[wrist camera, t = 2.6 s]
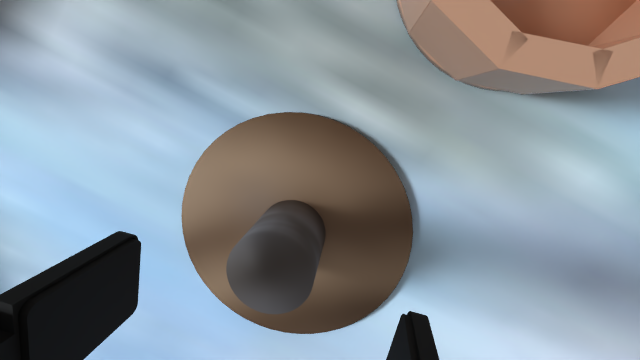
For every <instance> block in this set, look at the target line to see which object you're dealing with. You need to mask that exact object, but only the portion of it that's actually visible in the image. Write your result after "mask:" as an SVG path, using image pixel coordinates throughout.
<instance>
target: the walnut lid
mask: <svg viewBox="0 0 640 360" xmlns="http://www.w3.org/2000/svg"><path fill="white" fill-rule="evenodd" d="M182 228H183V235H184V240H185V244H186V247H187V250H188V253H189V256H190V259H191V261H192V263H193V265H194V267H195V269H196V271H197V273H198V274H199V276H200V277H201V279H202V280H203V282H204V283H205V284H206V286H207V287H208V288H209V289H210V291H211V292H212V293H213V294H214V295H215V296H216V297H217V298H218V299H219V300H220V301H221V302H222V303H223V304H225V305H226V306H227V307H229V308H230V309H231V310H232V311H234V312H235V313H237V314H239V315H240V316H242V317H244V318H245V319H247V320H249V321H251V322H254V323H256V324H258V325H261V326H263V327H266V328H269V329H273V330H277V331H282V332H287V333H297V334H314V333H322V332H328V331H332V330H336V329H340V328H343V327H345V326H348V325H350V324H353V323H355V322H357V321H358V320H360V319H362V318H364V317H366V316H367V315H368V314H370V313H371V312H373V311H374V310H375V309H377V308H378V307H379V306H380V305H381V304H382V303H383V302H384V301H385V300H386V299H387V298H388V297H389V295H390V294H391V293H392V291H393V290H394V289H395V288H396V286H397V284H398V282H399V281H400V279H401V277H402V275H403V273H404V271H405V268H406V266H407V263H408V260H409V256H410V252H411V247H412V237H413V225H412V214H411V209H410V204H409V200H408V197H407V195H406V192H405V189H404V186H403V184H402V182H401V180H400V178H399V176H398V175H397V173H396V171H395V169H394V168H393V167H392V165H391V164H390V162H389V161H388V159H387V158H386V157H385V156H384V155H383V154H382V153H381V151H380V150H379V149H378V148H377V147H376V146H375V145H374V144H372V143H371V142H370V141H369V140H368V139H366V138H365V137H364V136H363V135H361V134H360V133H358V132H356V131H355V130H353V129H352V128H350V127H348V126H346V125H344V124H342V123H339V122H337V121H335V120H332V119H329V118H326V117H322V116H319V115H313V114H307V113H294V112H284V113H275V114H267V115H264V116H260V117H256V118H252V119H250V120H247V121H245V122H243V123H240V124H238V125H236V126H235V127H233V128H231V129H230V130H228V131H226V132H225V133H224V134H222V135H221V136H220V137H219V138H217V139H216V140H215V141H214V142H213V143H212V144H211V145H210V146H209V147H208V148H207V149H206V150H205V151H204V153H203V154H202V156H201V157H200V158H199V160H198V161H197V163H196V164H195V166H194V168H193V170H192V172H191V174H190V176H189V179H188V182H187V185H186V188H185V192H184V197H183V203H182Z"/></svg>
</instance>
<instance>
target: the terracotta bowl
mask: <svg viewBox="0 0 640 360" xmlns="http://www.w3.org/2000/svg"><path fill="white" fill-rule="evenodd" d="M397 5H398V9H399V12H400V15H401V18H402V21H403V23H404V25H405V27H406V30H407V32H408V34H409V36H410V37H411V39H412V40H413V42H414V43H415V45H416V46H417V48H418V49H419V50H420V52H421V53H422V54H423V55H424V56H425V57H426V58H427V59H428V60H429V61H430V62H431V63H432V64H433V65H434V66H436V67H437V68H438V69H439V70H441V71H442V72H444V73H445V74H447V75H448V76H450V77H452V78H454V79H455V80H457V81H460V82H463V83H465V84H468V85H471V86H475V87H478V88H482V89H489V90H496V91H508V92H513V93H518V94H536V93H550V92H565V91H579V90H593V89H600V88H604V87H607V86H610V85H614V84H617V83H621V82H624V81H628V80H631V79H634V78H638V77H640V0H397Z"/></svg>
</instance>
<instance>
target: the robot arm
mask: <svg viewBox="0 0 640 360" xmlns="http://www.w3.org/2000/svg"><path fill="white" fill-rule="evenodd" d="M140 254H141V242H140V241H139V240H138V238H137V236H136V235H133V234H129V233H126V232H122V231H118V232H116V233H114V234H112V235H110V236H108V237H107V238H105V239H103V240H101V241H99V242H97V243H95V244H93V245H92V246H90V247H88V248H86V249H84V250H82V251H80V252H79V253H77V254H75V255H73V256H71V257H69V258H67V259H66V260H64V261H62V262H60V263H58V264H56V265H54V266H53V267H51V268H49V269H47V270H45V271H43V272H41V273H40V274H38V275H36V276H34V277H32V278H30V279H28V280H27V281H25V282H23V283H21V284H19V285H17V286H15V287H13V288H12V289H10V290H8V291H6V292H4V293H2V294H0V360H83V359H84V358H86V357H87V356H88V355H89V354H90V353H91V352H92V351H93V350H94V349H95V348H96V347H97V346H99V345H100V344H101V343H102V342H103V341H104V340H105V339H106V338H107V337H108V336H109V335H110V334H112V333H113V332H114V331H115V330H116V329H117V328H118V327H119V326H120V325H121V324H122V323H123V322H125V321H126V320H127V319H128V318H129V317H130V316H131V315H132V314H133V313H134V311H135V310H136V308H137V304H138V289H139V271H140ZM386 360H439V357H438V353H437V349H436V346H435V342H434V338H433V334H432V331H431V327H430V323H429V320H428V317H427V316H426V315H422V314H419V313H415V312H411V311H409V312H408V314H407V315H405V314H402V315H401V318H400V321H399V324H398V326H397V329H396V332H395V335H394V338H393V341H392V344H391V347H390V350H389V353H388V356H387V359H386Z"/></svg>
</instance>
